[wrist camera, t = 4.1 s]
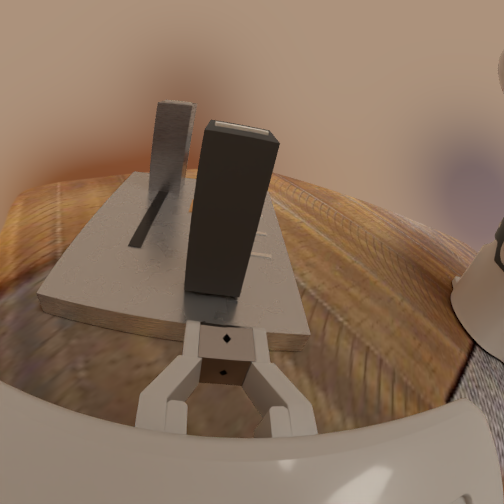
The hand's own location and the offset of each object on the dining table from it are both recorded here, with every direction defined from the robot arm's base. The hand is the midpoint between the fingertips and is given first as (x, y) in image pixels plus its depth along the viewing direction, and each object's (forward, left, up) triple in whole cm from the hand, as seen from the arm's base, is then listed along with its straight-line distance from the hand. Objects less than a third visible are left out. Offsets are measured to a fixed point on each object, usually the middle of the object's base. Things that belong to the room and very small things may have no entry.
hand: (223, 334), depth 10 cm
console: (+3, -19, -7) cm, 21 cm away
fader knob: (0, -10, -5) cm, 11 cm away
